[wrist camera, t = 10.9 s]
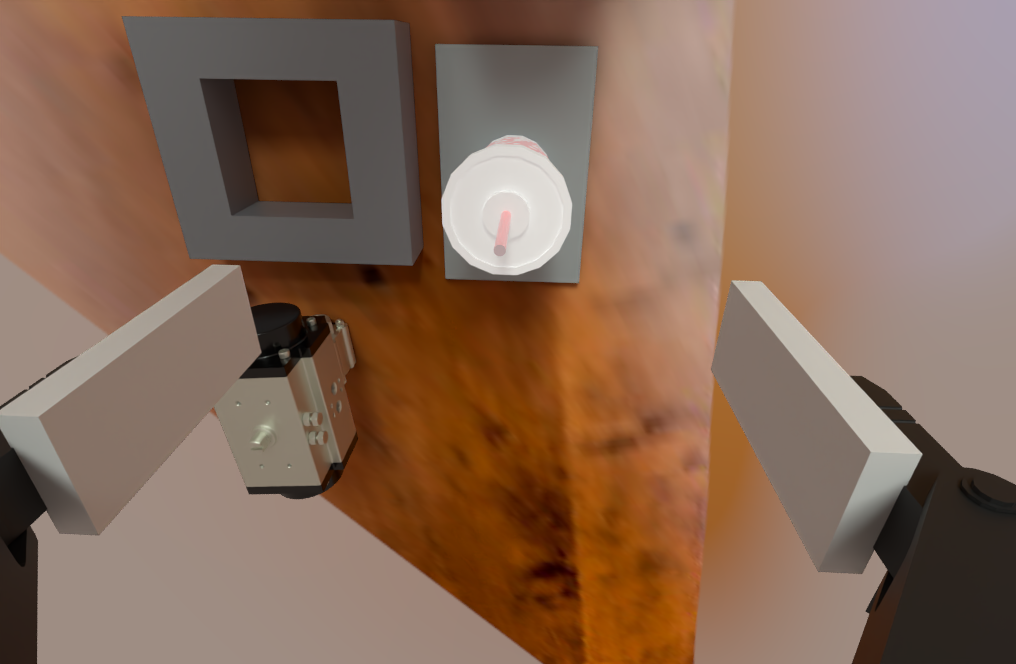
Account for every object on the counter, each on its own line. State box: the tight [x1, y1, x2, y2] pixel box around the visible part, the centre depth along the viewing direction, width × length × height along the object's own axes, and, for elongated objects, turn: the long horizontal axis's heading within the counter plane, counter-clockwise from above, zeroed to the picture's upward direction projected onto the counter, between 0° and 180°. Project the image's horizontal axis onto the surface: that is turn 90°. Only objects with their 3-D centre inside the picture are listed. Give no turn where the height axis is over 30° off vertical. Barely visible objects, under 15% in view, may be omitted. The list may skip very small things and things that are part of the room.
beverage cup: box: [441, 135, 572, 275], centre depth 26 cm, size 6×6×14 cm
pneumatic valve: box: [214, 303, 358, 499], centre depth 34 cm, size 6×12×12 cm, turn 4°
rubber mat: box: [435, 44, 598, 283], centre depth 33 cm, size 14×9×1 cm, turn 179°
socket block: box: [122, 16, 423, 266], centre depth 31 cm, size 13×14×4 cm
